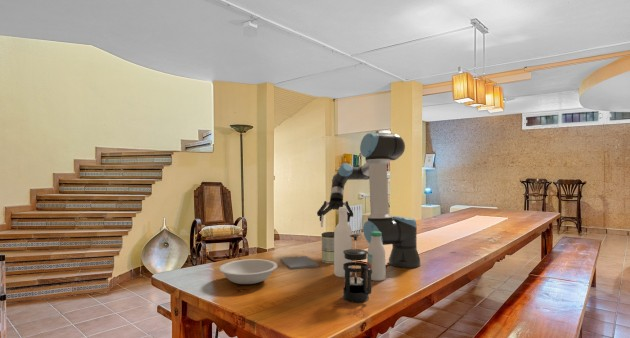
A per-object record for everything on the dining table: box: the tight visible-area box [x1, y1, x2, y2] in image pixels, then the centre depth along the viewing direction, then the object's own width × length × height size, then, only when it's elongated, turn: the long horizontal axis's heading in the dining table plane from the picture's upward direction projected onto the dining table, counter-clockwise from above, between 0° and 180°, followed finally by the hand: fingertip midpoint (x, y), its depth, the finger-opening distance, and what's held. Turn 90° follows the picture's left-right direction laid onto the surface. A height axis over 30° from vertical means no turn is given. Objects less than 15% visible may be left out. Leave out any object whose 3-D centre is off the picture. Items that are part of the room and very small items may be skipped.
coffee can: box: [321, 231, 334, 264], centre depth 182 cm, size 10×10×14 cm
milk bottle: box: [366, 231, 387, 282], centre depth 152 cm, size 8×8×20 cm
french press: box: [342, 233, 372, 304], centre depth 128 cm, size 12×9×23 cm
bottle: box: [333, 206, 353, 278], centre depth 157 cm, size 8×8×30 cm
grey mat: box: [280, 255, 320, 270], centre depth 177 cm, size 18×14×1 cm
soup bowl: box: [218, 258, 278, 285], centre depth 148 cm, size 24×24×7 cm
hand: (333, 225), depth 192 cm, fingers open, 13 cm apart
